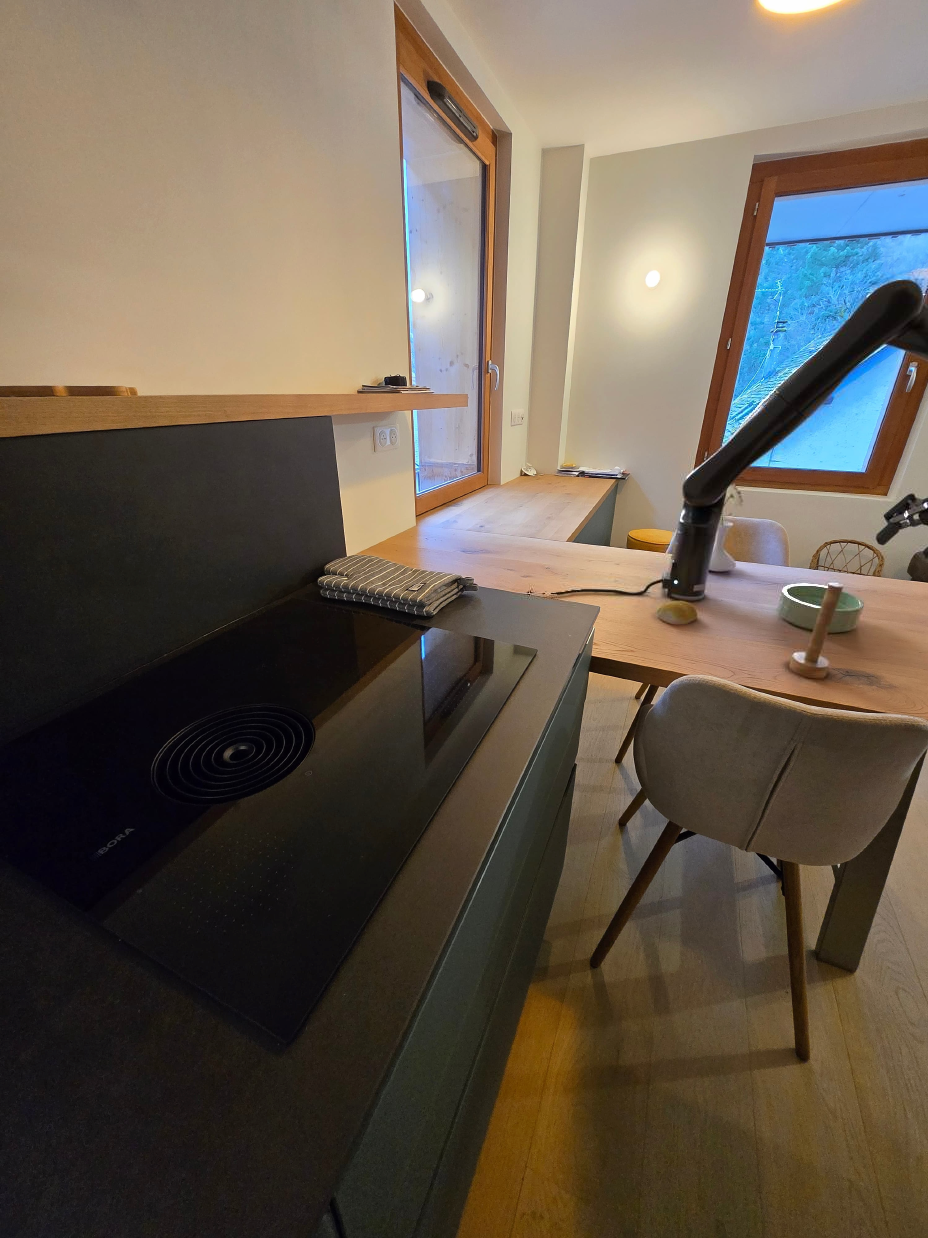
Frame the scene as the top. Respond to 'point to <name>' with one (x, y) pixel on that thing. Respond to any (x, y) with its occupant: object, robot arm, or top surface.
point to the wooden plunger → (818, 638)
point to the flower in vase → (719, 555)
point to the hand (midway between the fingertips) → (901, 548)
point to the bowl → (818, 607)
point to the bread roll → (677, 612)
